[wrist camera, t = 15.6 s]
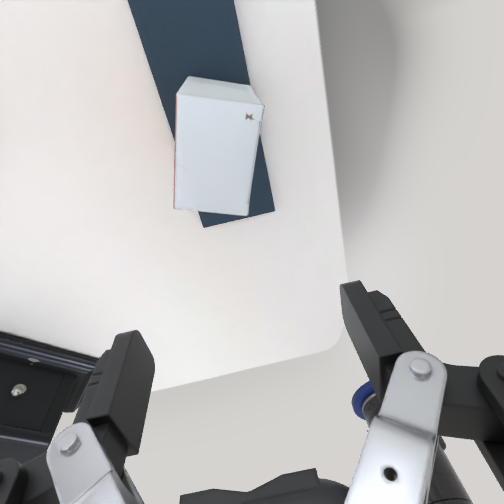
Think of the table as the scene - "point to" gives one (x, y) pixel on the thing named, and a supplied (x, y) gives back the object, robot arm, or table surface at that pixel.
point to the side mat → (198, 67)
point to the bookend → (37, 394)
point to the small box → (215, 145)
